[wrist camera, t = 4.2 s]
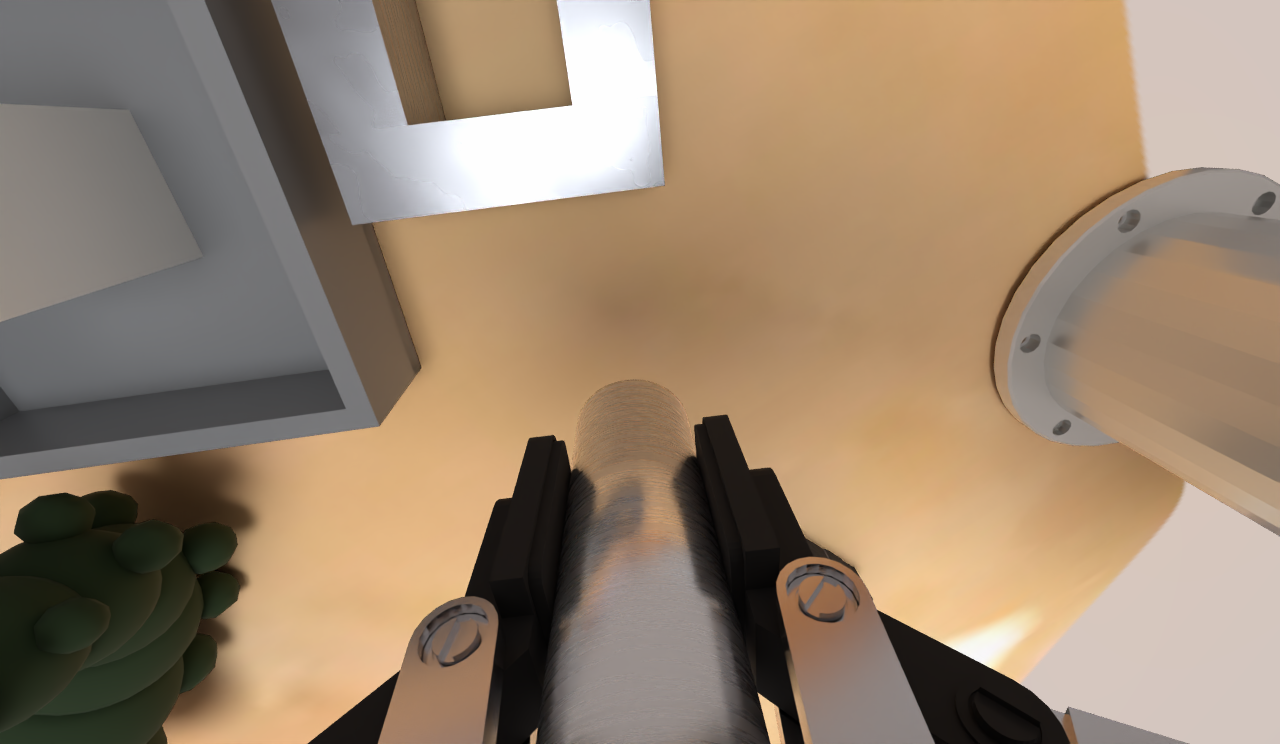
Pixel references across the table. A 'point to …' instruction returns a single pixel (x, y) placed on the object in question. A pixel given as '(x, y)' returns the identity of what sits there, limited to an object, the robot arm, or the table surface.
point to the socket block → (481, 146)
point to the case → (227, 237)
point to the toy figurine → (105, 619)
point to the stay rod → (643, 590)
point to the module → (80, 206)
